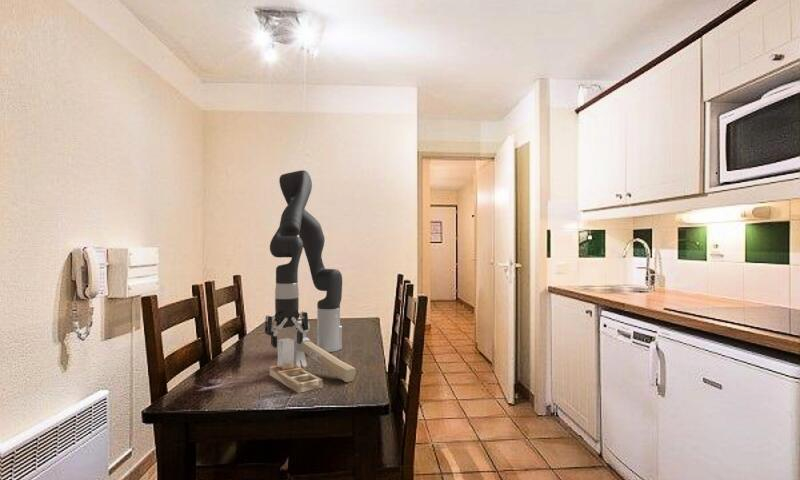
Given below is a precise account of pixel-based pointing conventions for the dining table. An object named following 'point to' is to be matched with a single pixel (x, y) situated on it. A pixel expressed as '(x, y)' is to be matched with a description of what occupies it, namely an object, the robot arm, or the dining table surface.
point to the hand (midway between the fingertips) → (287, 345)
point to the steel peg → (285, 354)
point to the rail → (297, 379)
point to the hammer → (321, 357)
